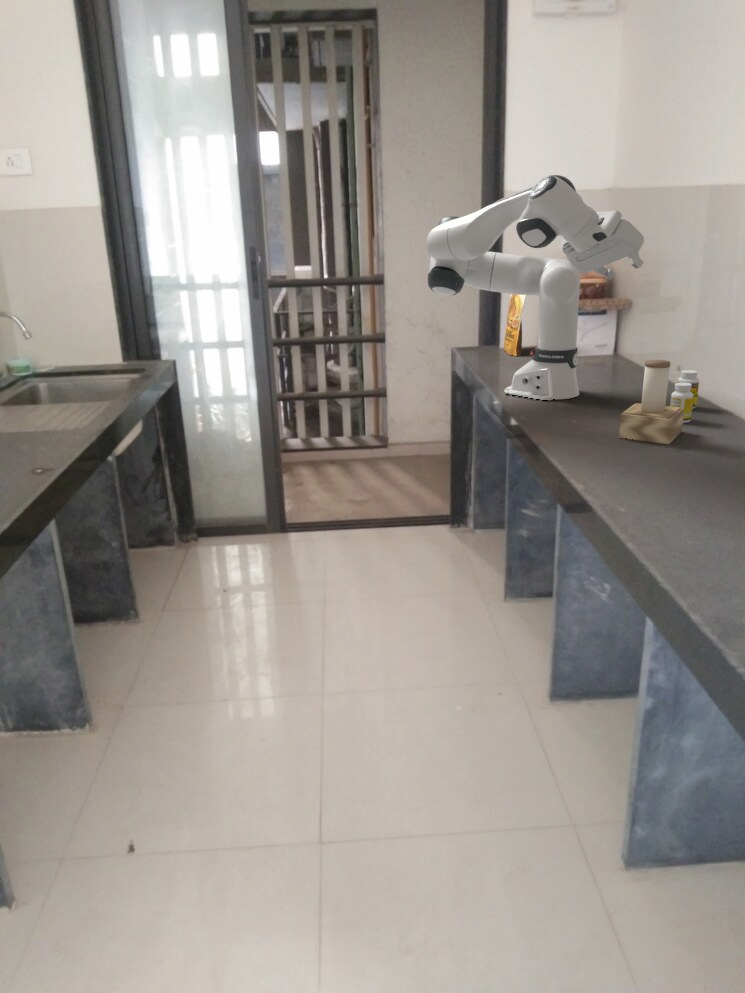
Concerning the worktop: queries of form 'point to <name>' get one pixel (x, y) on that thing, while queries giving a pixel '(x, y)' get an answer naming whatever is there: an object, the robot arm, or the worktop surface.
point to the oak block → (651, 424)
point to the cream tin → (655, 386)
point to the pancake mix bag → (514, 325)
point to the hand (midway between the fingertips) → (625, 271)
